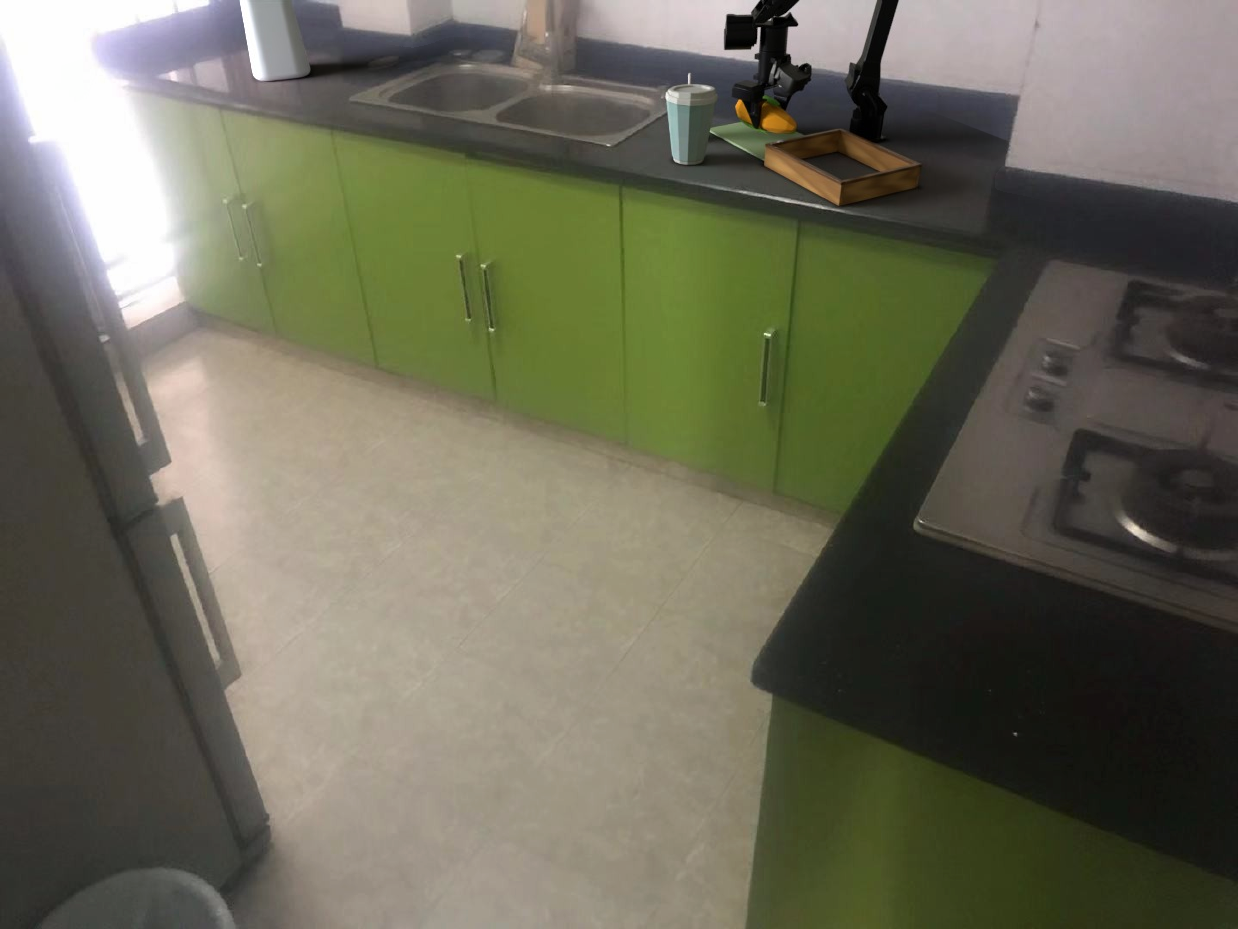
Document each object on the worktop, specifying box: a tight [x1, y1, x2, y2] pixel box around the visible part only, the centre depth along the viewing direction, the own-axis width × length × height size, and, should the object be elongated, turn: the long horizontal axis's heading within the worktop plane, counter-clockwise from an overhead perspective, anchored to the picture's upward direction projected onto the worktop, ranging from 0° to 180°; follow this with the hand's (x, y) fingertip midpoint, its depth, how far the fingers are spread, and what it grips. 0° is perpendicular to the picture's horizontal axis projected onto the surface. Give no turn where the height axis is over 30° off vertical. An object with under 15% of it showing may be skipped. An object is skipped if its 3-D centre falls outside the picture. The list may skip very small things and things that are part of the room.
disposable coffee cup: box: [664, 83, 719, 166], centre depth 196 cm, size 11×11×15 cm
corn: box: [734, 93, 798, 134], centre depth 206 cm, size 7×8×20 cm
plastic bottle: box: [239, 0, 311, 82], centre depth 253 cm, size 15×15×28 cm
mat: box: [710, 121, 806, 162], centre depth 209 cm, size 16×24×1 cm, turn 27°
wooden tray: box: [763, 127, 922, 207], centre depth 190 cm, size 19×25×5 cm
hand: (767, 124), depth 208 cm, fingers closed on corn, 7 cm apart
